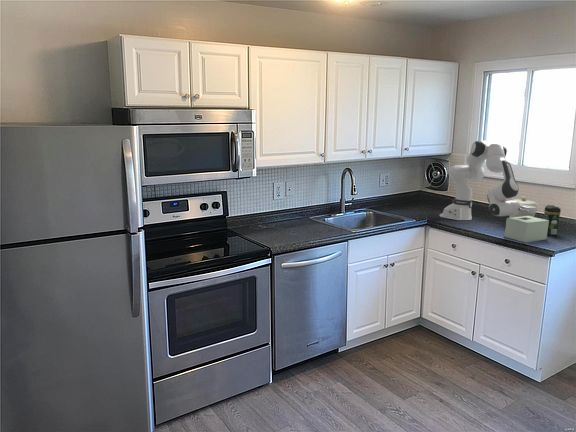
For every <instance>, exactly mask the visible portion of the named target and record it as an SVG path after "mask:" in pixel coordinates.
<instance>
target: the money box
mask: <svg viewBox="0 0 576 432" xmlns="http://www.w3.org/2000/svg"><path fill="white" fill-rule="evenodd" d="M505 221H506V222H505V227H504V228H505V229H504V235H503V236H504V238H507V239H511V240H515V241H518V242H521V243H532V242H537V241H538V242H539V241H545V240H547V237H548V235H547V231H548V225H549V220H545V219H544V218H540V217H535V216H534V217H531V216H522V217H512V218H509V217H507V218H506V220H505Z"/></svg>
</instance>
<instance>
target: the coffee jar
mask: <svg viewBox="0 0 576 432" xmlns="http://www.w3.org/2000/svg"><path fill="white" fill-rule="evenodd" d="M561 212H562V211H561V207H559V206H556V205H553V204H552V205H551V204H548V205H545V206H544V215H543V219H545V220H549V225H548V231H547V236H557V235H558V230H559V223H560V222H559V220H560V215H561Z"/></svg>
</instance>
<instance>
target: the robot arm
mask: <svg viewBox="0 0 576 432" xmlns="http://www.w3.org/2000/svg"><path fill="white" fill-rule="evenodd" d="M470 148H471V149H470V152H469V154H468V155H467V157H466V163H467V164H457V165H456V164H455V165H451V166H450V168H449V170H448V177H449V179H451V181H453V183H454V185H455V198H453V199H451V201H452V203H451V204H449V205H447V206H445V208H443V212H442V213H440V214H439V217H440V218H445V219H448V220H449V219H451V220H456V221H471V220H473V217H472V206H473V193H474V191H473V188H472V187H471V186H470V185H469V184H468V183H467V181H478V180H479V181H480V180H482V179H483V178H484V176H485V172H486V171H485V168H484V167H483V164H484V163H485V165H486V169H487V170H489V171H490V172H493V173H496V174H497V173H498V174H500V173H502V176H503V179H504V180H503V182H502V183H500V184H499V185H497V186H495V187H493V188H491V189H490V190H488V191H487V194H486V196H487V197H486V198H487V199H486V200H487V202H488V204H489V205H488V210H489V213H490V214H491V215H493V216H495V217H507V216H510V215H517V214H518V213H519V212H524V213H535V214H537V210H538V206H537V207H534V206H529V205H524V204H519V203H518V202H517V201H515V199H512V198H515V197H517V196H518V194H519V189H520V188H519V186H518V185H519V184H518V183H517V182H516V178H515V175H514V171H513V167H512V165H511V163H510V162H509V160H506V156H507V152H508V150H507V147H506V146H505V145H503V144H501V143H497V142H496V143H495V142H489V141H487V140H477V141H474V142H473V143H472V144H471V147H470ZM509 199H511V200H512V201H511V200H509Z"/></svg>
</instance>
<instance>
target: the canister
mask: <svg viewBox="0 0 576 432" xmlns="http://www.w3.org/2000/svg"><path fill="white" fill-rule="evenodd" d="M512 200H513V199H511V200H510V201H512ZM514 200H515V201H517V202H518V203H519V204H524V205H529V206H534V207H537V208H538V206H539V204H538V203H537V202H536V201H533V200H528V197H527V196H524V195H522V196H521V198H520V199H514ZM535 215H536V213H524V212H519V213H518V214H517V215H510V216H509V217H508V218H512V217H522V216H531V217H535Z"/></svg>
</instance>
